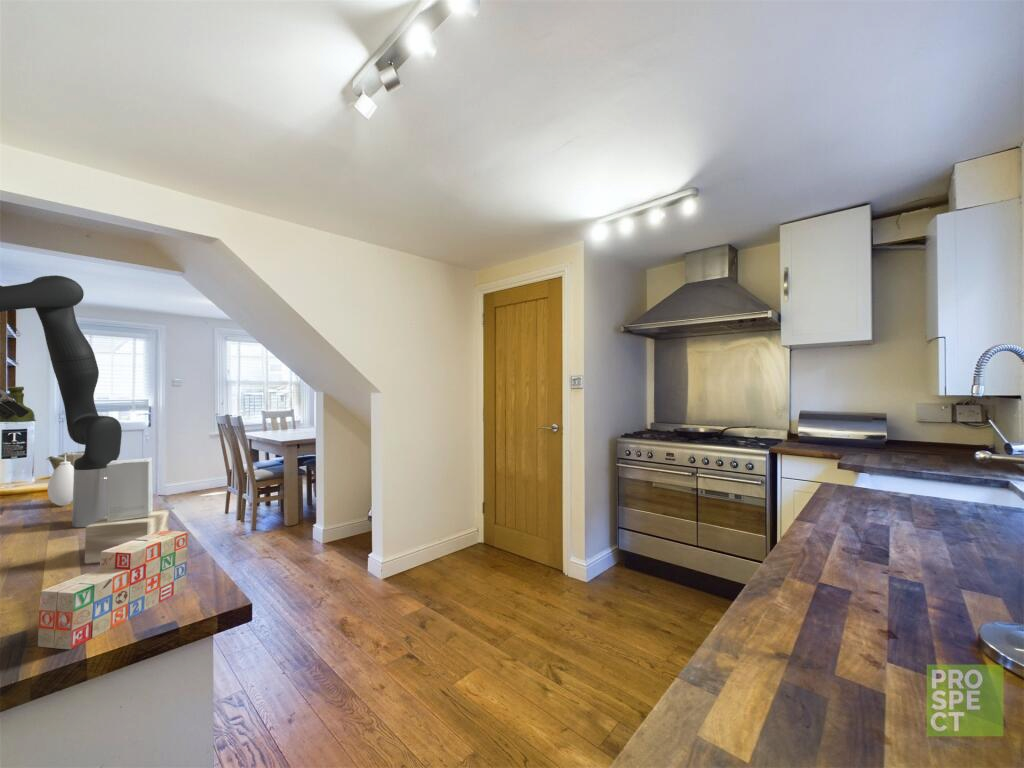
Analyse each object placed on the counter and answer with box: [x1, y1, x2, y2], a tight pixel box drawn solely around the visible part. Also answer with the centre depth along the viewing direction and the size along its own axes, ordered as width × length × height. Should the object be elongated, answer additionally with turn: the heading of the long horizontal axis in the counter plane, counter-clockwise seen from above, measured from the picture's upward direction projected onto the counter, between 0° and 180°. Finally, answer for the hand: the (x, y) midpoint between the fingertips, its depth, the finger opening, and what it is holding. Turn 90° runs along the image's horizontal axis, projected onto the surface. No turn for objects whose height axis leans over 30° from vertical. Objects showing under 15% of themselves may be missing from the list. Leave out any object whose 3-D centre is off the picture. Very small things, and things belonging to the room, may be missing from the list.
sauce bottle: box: [47, 454, 74, 507], centre depth 146 cm, size 8×8×18 cm
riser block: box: [84, 508, 170, 564], centre depth 107 cm, size 12×12×9 cm
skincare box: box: [107, 457, 154, 522], centre depth 107 cm, size 8×6×15 cm
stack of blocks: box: [37, 530, 189, 650], centre depth 78 cm, size 21×6×12 cm, turn 174°
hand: (19, 415), depth 105 cm, fingers open, 8 cm apart
